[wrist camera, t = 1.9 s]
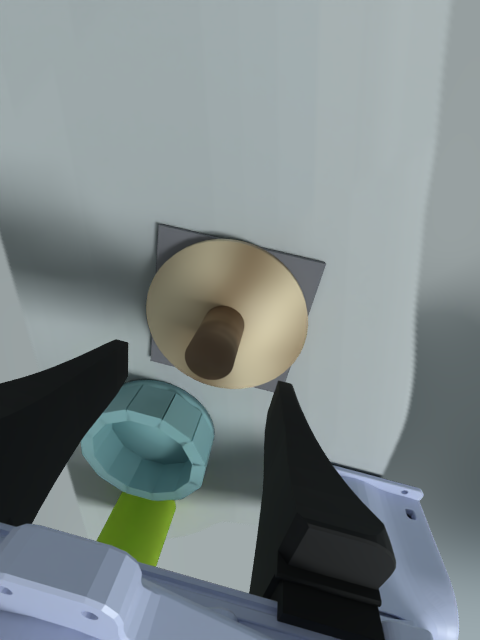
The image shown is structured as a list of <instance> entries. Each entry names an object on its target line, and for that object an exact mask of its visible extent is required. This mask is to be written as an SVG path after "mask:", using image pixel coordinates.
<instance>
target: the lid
mask: <svg viewBox="0 0 480 640" xmlns="http://www.w3.org/2000/svg"><path fill="white" fill-rule="evenodd" d="M146 315H147V321H148V325H149V329H150V332H151V334H152V337H153V339H154V341H155V343H156V345H157V346H158V348H159V350H160V351H161V352H162V353H163V355H164V356H165V357H166V358H167V359H168V360H169V362H170V363H171V364H173V365H174V366H175V367H176V368H177V369H178V370H180V371H181V372H183V373H184V374H186V375H187V376H189V377H191V378H193V379H195V380H197V381H199V382H202V383H204V384H207V385H211V386H215V387H220V388H228V389H242V388H250V387H255V386H259V385H262V384H264V383H267V382H269V381H271V380H273V379H275V378H277V377H278V376H280V375H281V374H283V373H284V372H285V371H286V370H287V369H288V368H289V367H290V366H291V365H292V364H293V363H294V362H295V360H296V359H297V357H298V356H299V354H300V352H301V350H302V348H303V346H304V343H305V339H306V336H307V329H308V315H307V308H306V302H305V298H304V295H303V292H302V290H301V288H300V286H299V284H298V282H297V280H296V278H295V277H294V276H293V274H292V273H291V271H290V270H289V269H288V268H287V267H286V266H285V265H284V264H283V263H282V262H281V261H280V260H279V259H277V258H276V257H275V256H274V255H272V254H271V253H269V252H267V251H266V250H264V249H262V248H260V247H258V246H256V245H254V244H250V243H247V242H244V241H240V240H234V239H211V240H205V241H201V242H197V243H195V244H192V245H190V246H188V247H186V248H184V249H182V250H181V251H179V252H178V253H176V254H175V255H173V256H172V257H171V258H170V259H169V260H167V261H166V262H165V263H164V264H163V265H162V267H161V268H160V269H159V270H158V272H157V273H156V275H155V276H154V278H153V280H152V283H151V285H150V288H149V291H148V295H147V302H146Z"/></svg>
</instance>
